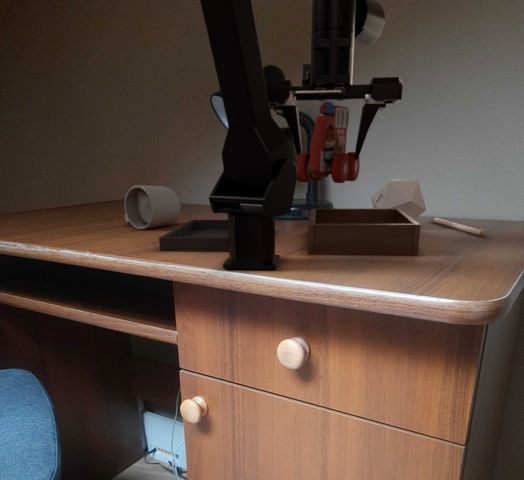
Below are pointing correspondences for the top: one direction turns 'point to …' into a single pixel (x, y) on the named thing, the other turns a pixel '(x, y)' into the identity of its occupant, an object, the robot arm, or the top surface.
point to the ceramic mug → (151, 206)
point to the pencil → (459, 226)
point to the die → (400, 197)
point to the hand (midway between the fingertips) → (328, 159)
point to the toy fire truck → (329, 148)
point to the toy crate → (362, 232)
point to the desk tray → (197, 236)
